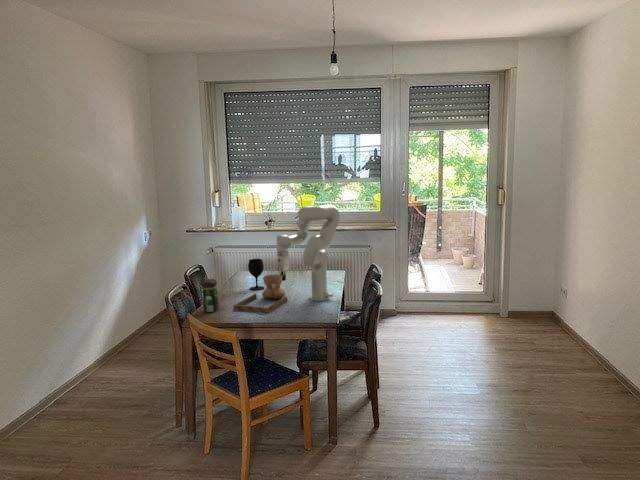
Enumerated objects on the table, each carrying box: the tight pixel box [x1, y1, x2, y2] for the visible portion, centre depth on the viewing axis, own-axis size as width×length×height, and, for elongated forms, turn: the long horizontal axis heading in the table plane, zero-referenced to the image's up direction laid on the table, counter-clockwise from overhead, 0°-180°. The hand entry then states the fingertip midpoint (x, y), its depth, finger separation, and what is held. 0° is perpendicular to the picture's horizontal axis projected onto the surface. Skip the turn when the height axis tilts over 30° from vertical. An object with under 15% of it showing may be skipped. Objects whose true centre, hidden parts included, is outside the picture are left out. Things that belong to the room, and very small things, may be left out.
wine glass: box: [247, 258, 265, 292], centre depth 339 cm, size 10×10×20 cm
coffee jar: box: [201, 278, 220, 313], centre depth 292 cm, size 10×8×19 cm
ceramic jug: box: [261, 273, 286, 301], centre depth 315 cm, size 18×14×14 cm
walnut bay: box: [233, 293, 288, 314], centre depth 300 cm, size 23×25×3 cm
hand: (283, 280), depth 329 cm, fingers closed
